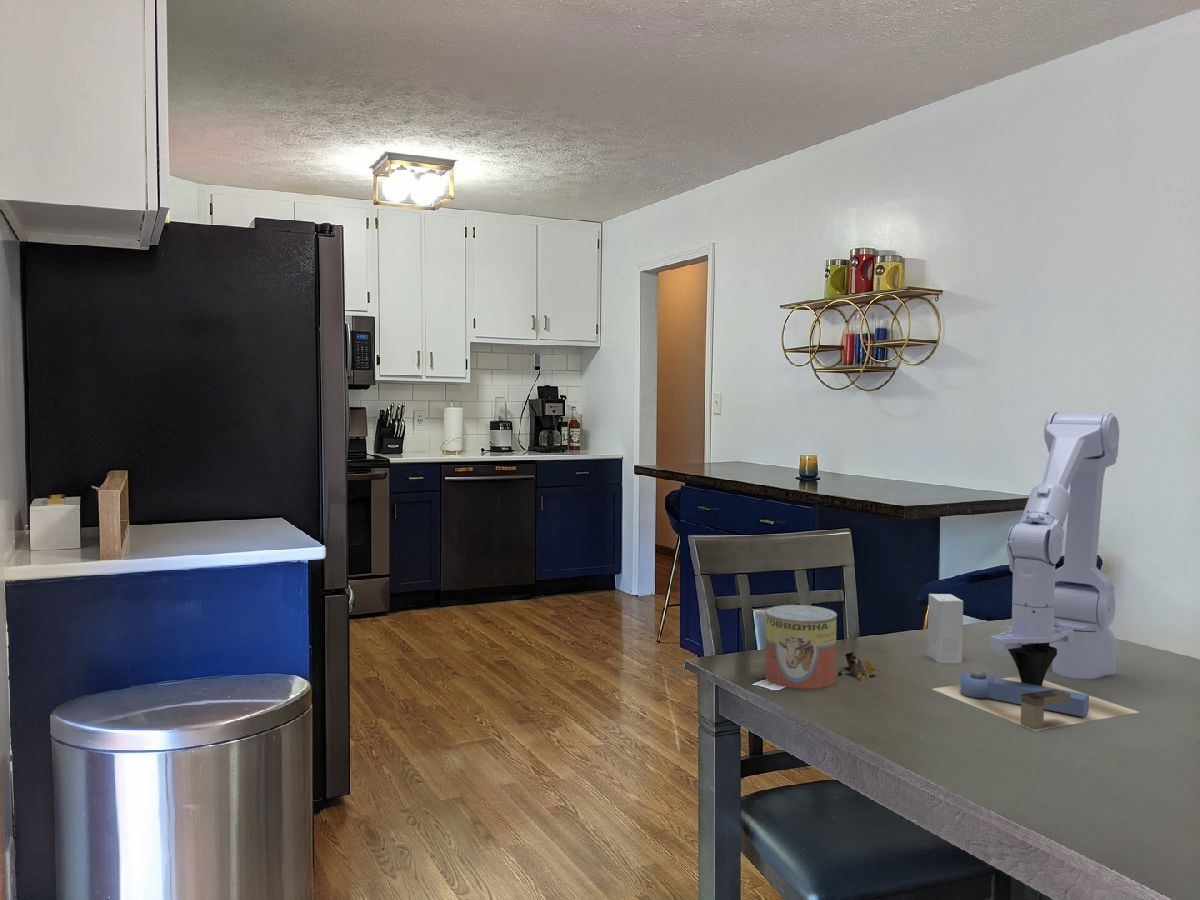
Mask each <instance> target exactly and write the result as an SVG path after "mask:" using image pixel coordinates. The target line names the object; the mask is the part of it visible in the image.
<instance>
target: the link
mask: <svg viewBox="0 0 1200 900" xmlns="http://www.w3.org/2000/svg"><path fill="white" fill-rule="evenodd" d="M959 685H960V692H961V693H962V694H964V695H967V696H971V697H977V698H991V699H996V700H1001V701H1006V702H1011V703H1017V704H1021V694H1027V693H1033V692H1039V691H1046V690H1052V689H1054V688H1049V687H1044V686H1038V685H1033V684H1027V683H1022V682H1016V681H1011V680H1005V679H1002V678H999V677H995V676H993V675H990V674H988V673H987V671H984V670H979V669H972V670H970V672H964V673H962V674H960V684H959ZM1058 690H1060V689H1058ZM1061 691H1064V692H1067V693H1070V694H1071V695H1070V701H1067V702H1061V703H1054V704H1048V705H1044V709H1047V710H1052V711H1057V712H1062V713H1067V714H1072V715H1077V716H1082V717H1084V716H1085V715H1086V714H1087V713H1088V712H1089V695H1090V694H1088V693H1084V694H1082V693H1083V692H1081V693H1076V692H1071V691H1065V690H1061Z"/></svg>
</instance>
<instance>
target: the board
mask: <svg viewBox="0 0 1200 900" xmlns="http://www.w3.org/2000/svg"><path fill="white" fill-rule="evenodd" d="M1001 679H1005V680H1011V681H1016V682H1021V678H1020V675H1015V676H1011V677H1010V676H1009V677H1003V678H1001ZM1042 686H1044V687H1049V688H1054V689H1060V690H1065V691H1071V692H1076V693H1082V694H1085V693H1083V692H1081V691H1078V690H1075V689H1073V688H1072V689H1071V688H1069V687H1066V686H1063V685H1060V684H1057V683H1053V682H1052V681H1051V682H1050V681H1048V680H1046V679H1044V680H1043V683H1042ZM931 690H933V691H935V692H937V693H939V694H942V695H945V696H947V697H950V698H952V699H955V700H957V701H960V702H962V703H964V704H968V705H970V706H972V707H975V708H977V709H979V710H981V711H985V712H986V713H989V714H992V715H994V716H997V717H999V718H1002V719H1004V720H1007V721H1010V722H1012V723H1015V724H1016V725H1020V726H1022V727H1024V728H1027V729H1029V730H1032V731H1034V732H1037V731H1044V730H1049V729H1054V728H1061V727H1066V726H1071V725H1077V724H1082V723H1089V722H1092V721H1093V722H1094V721H1100V720H1106V719H1110V718H1111V719H1112V718H1117V717H1122V716H1123V717H1124V716H1128V715H1132V714H1133V715H1134V714H1139V713H1140V711H1137V710H1135V709H1132V708H1128V707H1125V706H1122V705H1119V704H1116V703H1114V702H1110V701H1109V700H1108V701H1107V700H1104V699H1103V698H1099V697H1095V696H1093V695H1090V694H1088V695H1089V712H1088V713H1087V714H1086V715H1085V716H1084V717H1082V716H1077V715H1072V714H1067V713H1062V712H1057V711H1052V710H1047V709H1044V726H1043V728H1042V729H1036V730H1034V729H1031V728H1029V727H1026V726H1024V725H1021V704H1017V703H1011V702H1006V701H1001V700H996V699H991V698H977V697H971V696H967V695H964V694H962V693H961V692H960V684H955V685H948V686H942V687H935V688H931Z"/></svg>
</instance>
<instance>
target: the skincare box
mask: <svg viewBox="0 0 1200 900" xmlns="http://www.w3.org/2000/svg"><path fill="white" fill-rule="evenodd" d="M927 608H928V609H927V611H928V612H927V613H928V614H927V648H926V649H927V652H926V653H927V657H930V658H931V659H932V660H933V661H935V662H936V663H937V664H962V663H963V641H964V640H963V638H964V637H963V633H964V632H963V631H964V630H963V629H964V628H963V627H964V600H963V599H960V598H958V597H957V596H955V595H953V594H951V593H929V594H928V607H927Z"/></svg>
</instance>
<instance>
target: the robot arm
mask: <svg viewBox="0 0 1200 900" xmlns="http://www.w3.org/2000/svg"><path fill="white" fill-rule="evenodd" d="M1043 433H1044V434H1043V436H1044V441H1045V444H1046V448H1047V452H1048V453H1049V455H1048V459H1047V463H1046V468H1045V472H1044V474H1043V475H1044V476H1043V480H1042V483H1040V484H1036V485H1035V486H1033V488H1032V489H1031V492H1030V494H1029V497H1028V498H1027V499H1028V500H1027V502H1026V505H1025V507H1024V510H1023V512H1022V516H1021V518H1020V521H1019V522H1017V524H1016V525H1012V526H1011V527H1010V528H1009V530H1008V533H1007V538H1006V553H1007V557H1008V560H1009V564H1008V566H1009V567H1008V568H1009V571H1010V572H1011V573H1012V592H1011V595H1012V597H1011V598H1012V599H1011V603H1012V604H1011V605H1012V606H1011V626H1008V627H1007V630H1005V631H1004V632H1001V633H999V634H995V635H990V637H989V638H990V640H989V646H990V647H989V649H990V650H992V651H993V650H994V651H997V652H999V653H1001V652H1006V650H1008V652H1009V654H1010V655H1011V657H1012V659H1013V661H1014V663H1015V665H1016V668H1017V671H1018V673H1019V675H1018V676H1020V678H1021V682H1022V683H1027V684H1033V685H1038V686H1042V683H1043V680H1045V677H1046V674H1047V671H1048V669H1049V667H1050V666H1051V665H1052V667H1051V670H1052V673H1055V674H1057V675H1059V676H1063V677H1067V678H1073V679H1079V680H1093V679H1099V678H1101V677H1104V676H1105V677H1106V676H1110V675H1115V674H1116V673H1117V669H1116V668H1117V647H1118V646H1117V639H1116V636H1115V634H1114V632H1113V630H1112V629H1111V628H1109V626H1111V624H1112V623H1113V622H1114V618H1115V613H1116V599H1115V585H1114V582H1113V581H1112V579H1110V578H1109V576H1108V575H1106V574H1105V573H1104V572H1102V571H1101V570H1100V569H1099V568H1098V567H1097V562H1098V548H1099V537H1100V524H1101V523H1100V522H1101V510H1102V499H1103V488H1104V487H1103V486H1104V477H1105V473H1106V469H1108V467H1111V466H1113V465H1116V463H1117V458H1118V454H1119V444H1120V443H1119V441H1120V426H1119V420H1118V418H1117V417H1116V415H1114V413H1113V412H1106V413H1105V412H1104V413H1103V412H1102V413H1101V412H1100V413H1095V412H1093V413H1091V412H1088V413H1086V412H1085V413H1084V412H1069V413H1068V412H1057V411H1056V412H1055V411H1053V412H1051V413H1050V414H1049V415H1048V417H1047V418H1046V420H1045V423H1044V429H1043ZM1068 490H1069V492H1068ZM1066 518H1067V522H1066V531H1065V532H1066V533H1065V532H1064V528H1063V527H1064V524H1065V521H1066ZM1064 537H1065V544H1064V546H1065V547H1064V559H1063V565H1061V566H1060V567H1058V568H1056V565H1057V563H1058V562H1059V561H1060V559H1061V556H1062V552H1063V541H1064ZM1065 583H1075V584H1082V585H1083V584H1084V585H1091V586H1093V587H1089V586H1088V587H1087V586H1082V585H1081V586H1080V585H1071V584H1065ZM1050 644H1052V646H1050Z"/></svg>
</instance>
